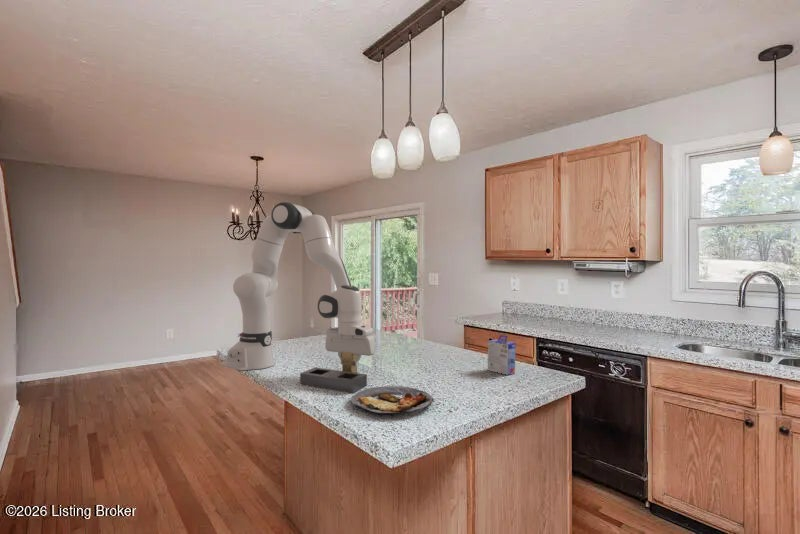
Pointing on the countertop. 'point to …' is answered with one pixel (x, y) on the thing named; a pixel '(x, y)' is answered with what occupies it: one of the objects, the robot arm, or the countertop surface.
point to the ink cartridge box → (501, 356)
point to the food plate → (392, 399)
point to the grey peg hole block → (334, 379)
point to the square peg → (348, 362)
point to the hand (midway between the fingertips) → (349, 364)
